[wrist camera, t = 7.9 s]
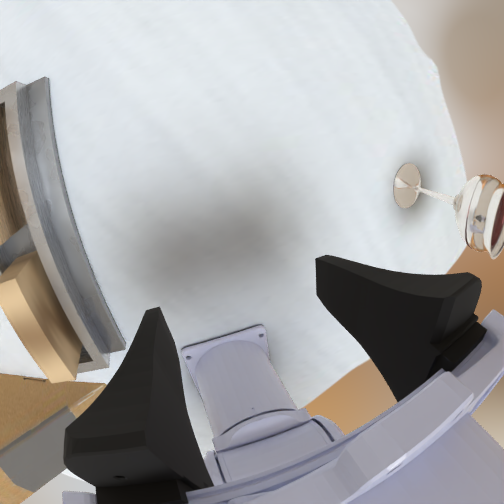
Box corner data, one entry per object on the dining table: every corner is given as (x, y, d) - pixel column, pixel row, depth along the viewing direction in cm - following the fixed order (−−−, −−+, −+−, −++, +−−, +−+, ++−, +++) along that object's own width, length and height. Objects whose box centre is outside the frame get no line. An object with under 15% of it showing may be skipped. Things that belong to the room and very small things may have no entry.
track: (125, 343, 21) (124, 388, 16) (47, 359, 19) (36, 401, 14) (48, 78, 12) (17, 61, 7) (-38, 129, 9) (-76, 132, 5)
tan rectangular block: (83, 341, 19) (75, 379, 15) (61, 345, 18) (51, 383, 14) (39, 249, 15) (15, 278, 11) (16, 257, 14) (-9, 287, 11)
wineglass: (404, 142, 23) (508, 165, 13) (431, 177, 26) (518, 207, 16) (378, 197, 24) (483, 241, 14) (408, 226, 27) (494, 270, 17)
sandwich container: (124, 425, 25) (140, 535, 12) (20, 415, 20) (10, 511, 7) (107, 380, 22) (115, 521, 9) (-9, 369, 17) (-38, 478, 4)
